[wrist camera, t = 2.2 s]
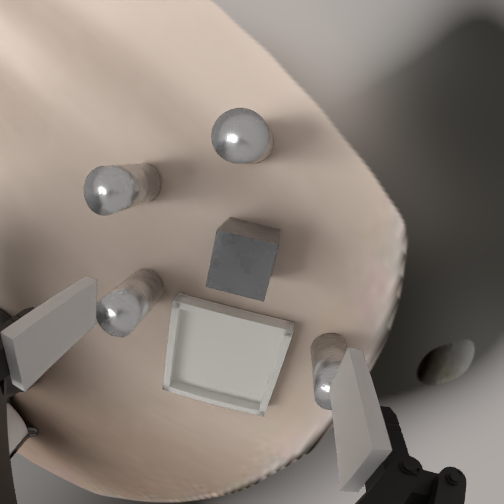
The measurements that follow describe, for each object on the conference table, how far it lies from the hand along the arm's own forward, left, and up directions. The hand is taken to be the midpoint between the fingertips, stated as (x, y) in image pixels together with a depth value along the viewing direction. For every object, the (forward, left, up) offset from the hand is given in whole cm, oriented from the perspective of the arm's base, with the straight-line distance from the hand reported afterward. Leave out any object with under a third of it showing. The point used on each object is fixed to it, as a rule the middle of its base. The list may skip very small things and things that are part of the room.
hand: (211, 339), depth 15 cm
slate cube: (0, 0, -18) cm, 18 cm away
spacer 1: (+4, +12, -17) cm, 22 cm away
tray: (-13, 0, -17) cm, 22 cm away
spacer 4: (-9, -11, -17) cm, 22 cm away
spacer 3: (+10, +2, -17) cm, 20 cm away
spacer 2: (-7, +10, -17) cm, 21 cm away
